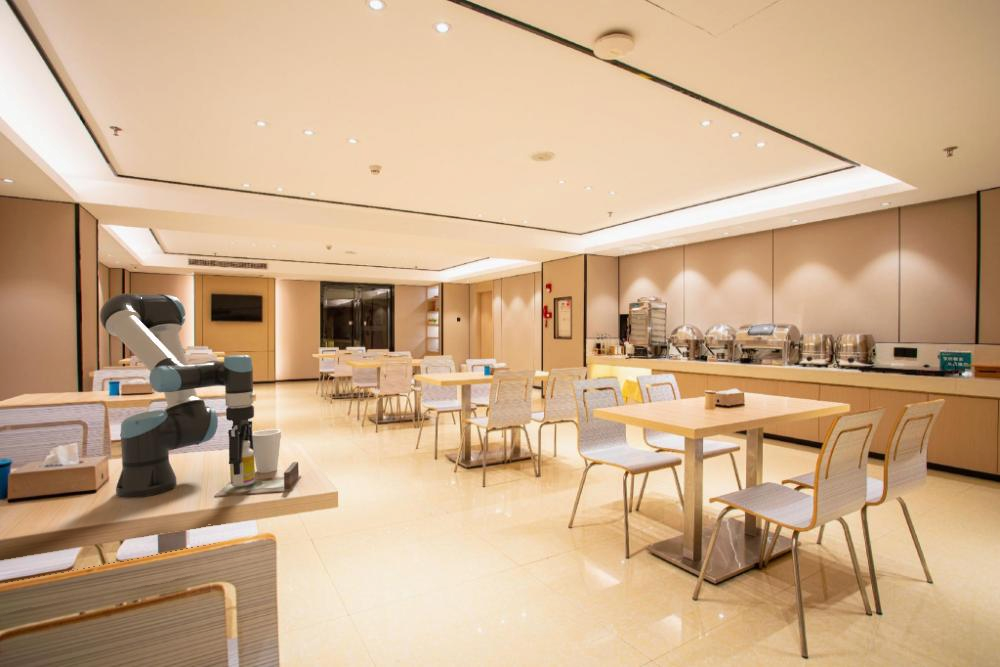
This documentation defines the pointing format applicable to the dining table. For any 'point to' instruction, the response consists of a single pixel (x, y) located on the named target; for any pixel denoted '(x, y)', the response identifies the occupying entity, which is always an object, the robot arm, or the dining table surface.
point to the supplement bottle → (246, 465)
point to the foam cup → (266, 449)
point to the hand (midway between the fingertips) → (242, 480)
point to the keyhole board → (265, 484)
